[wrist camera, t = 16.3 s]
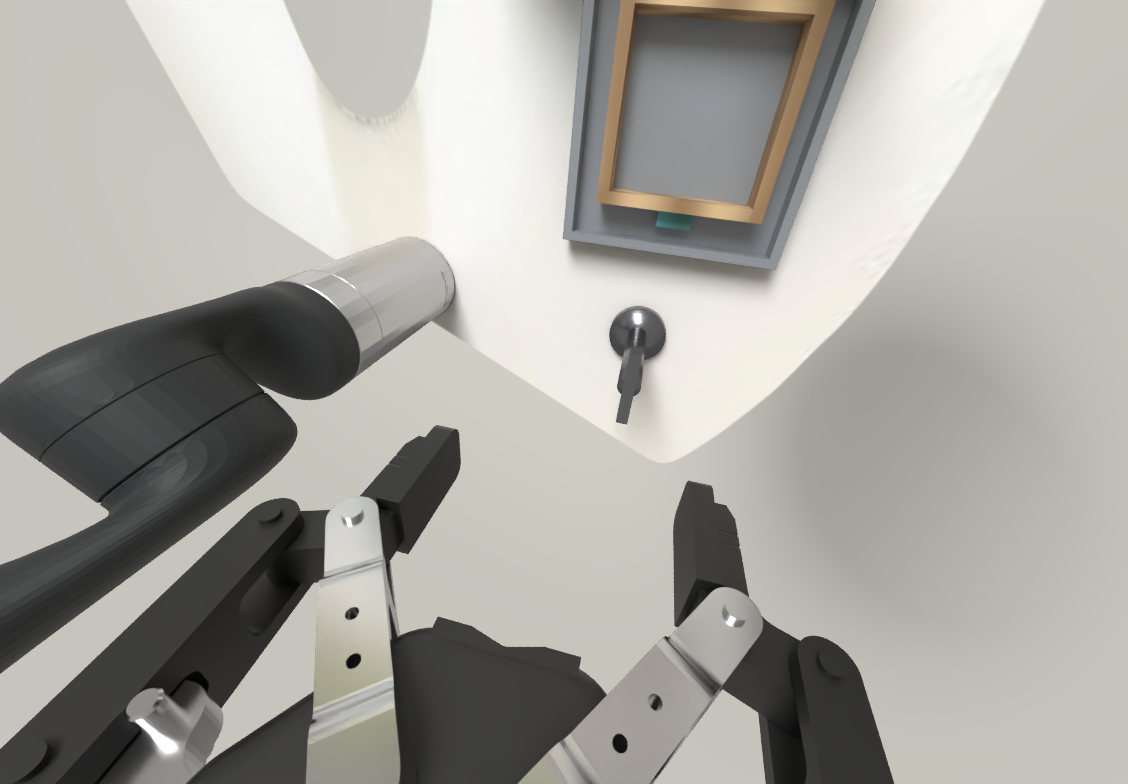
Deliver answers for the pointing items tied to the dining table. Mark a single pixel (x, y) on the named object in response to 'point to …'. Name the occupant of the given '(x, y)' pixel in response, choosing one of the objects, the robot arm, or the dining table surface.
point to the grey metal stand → (634, 350)
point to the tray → (700, 126)
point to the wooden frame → (779, 4)
